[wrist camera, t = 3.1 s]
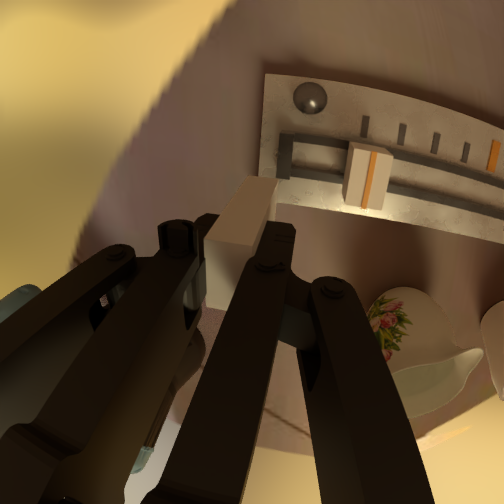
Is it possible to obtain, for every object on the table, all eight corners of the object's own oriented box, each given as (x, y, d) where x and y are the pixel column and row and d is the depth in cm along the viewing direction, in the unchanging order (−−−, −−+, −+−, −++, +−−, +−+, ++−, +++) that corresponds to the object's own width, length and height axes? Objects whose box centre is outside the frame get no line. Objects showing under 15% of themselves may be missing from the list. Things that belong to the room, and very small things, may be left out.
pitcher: (318, 338, 40) (312, 427, 28) (408, 238, 30) (447, 326, 19) (377, 365, 41) (383, 446, 29) (465, 282, 31) (506, 365, 20)
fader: (339, 183, 27) (344, 205, 22) (346, 136, 25) (354, 148, 20) (370, 189, 27) (382, 212, 22) (379, 142, 24) (394, 155, 20)
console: (260, 192, 31) (252, 207, 28) (268, 74, 25) (261, 72, 21) (515, 240, 27) (530, 257, 24) (542, 149, 21) (562, 159, 17)
